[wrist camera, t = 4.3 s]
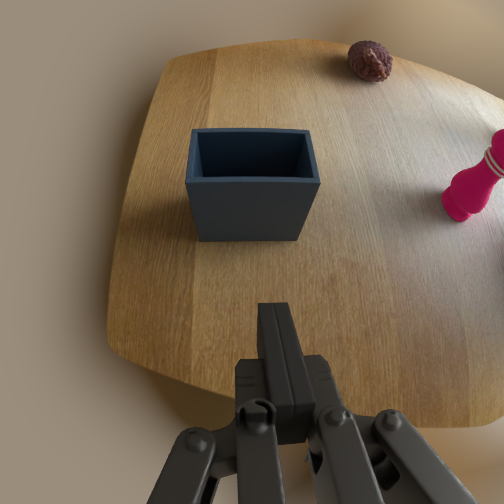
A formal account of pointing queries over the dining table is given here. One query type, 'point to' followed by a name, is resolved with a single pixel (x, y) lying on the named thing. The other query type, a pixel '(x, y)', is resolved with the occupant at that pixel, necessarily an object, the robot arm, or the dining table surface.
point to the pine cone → (370, 60)
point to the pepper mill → (475, 182)
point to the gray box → (251, 183)
